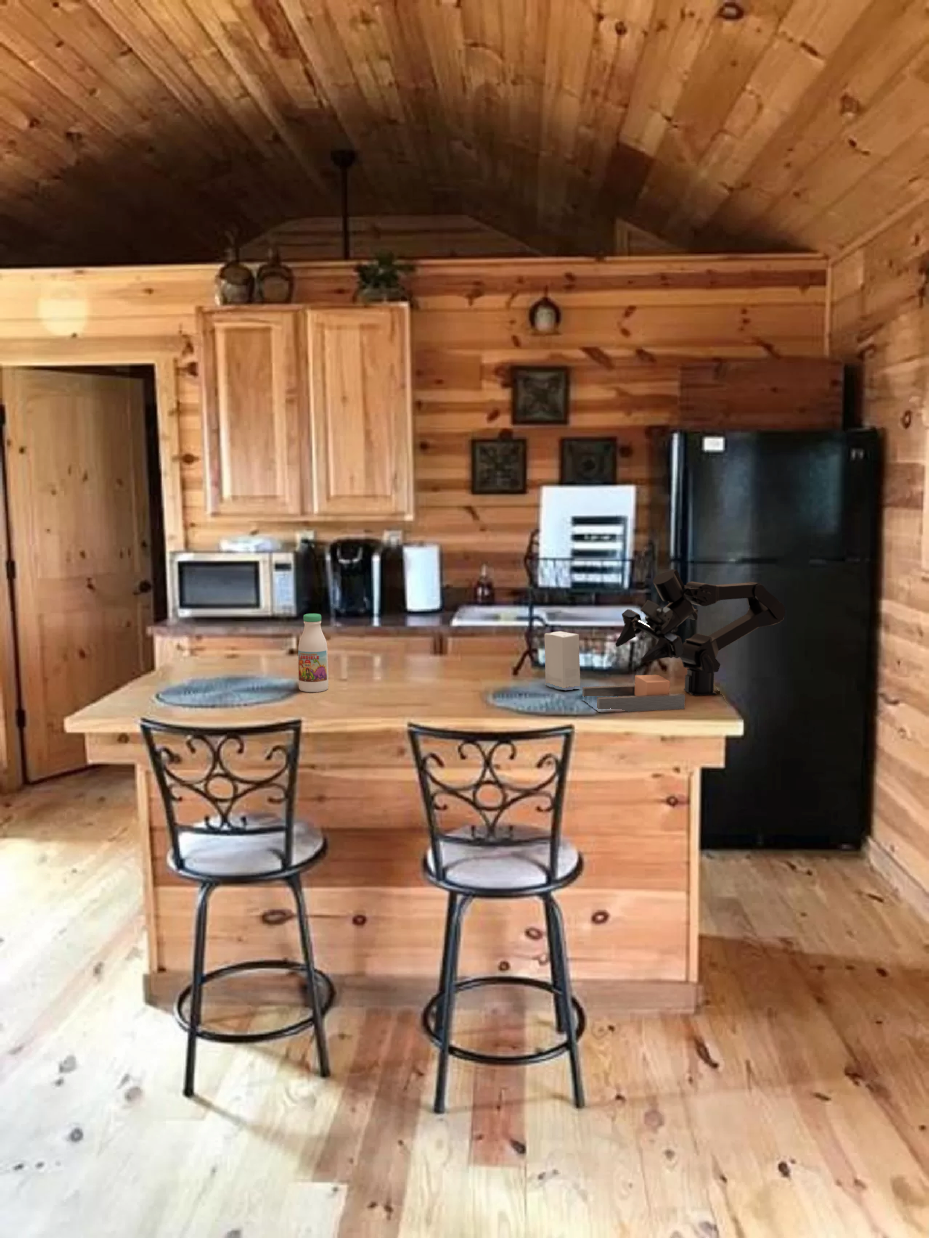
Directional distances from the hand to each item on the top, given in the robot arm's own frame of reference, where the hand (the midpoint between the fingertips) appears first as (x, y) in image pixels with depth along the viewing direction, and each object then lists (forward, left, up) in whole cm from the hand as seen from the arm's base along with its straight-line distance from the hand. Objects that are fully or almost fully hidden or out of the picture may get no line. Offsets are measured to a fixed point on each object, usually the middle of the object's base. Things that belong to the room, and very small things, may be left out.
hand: (628, 653), depth 260 cm
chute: (0, +3, -13) cm, 13 cm away
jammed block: (-5, +3, -11) cm, 13 cm away
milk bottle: (+77, -28, -13) cm, 83 cm away
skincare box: (+12, -18, -13) cm, 25 cm away
